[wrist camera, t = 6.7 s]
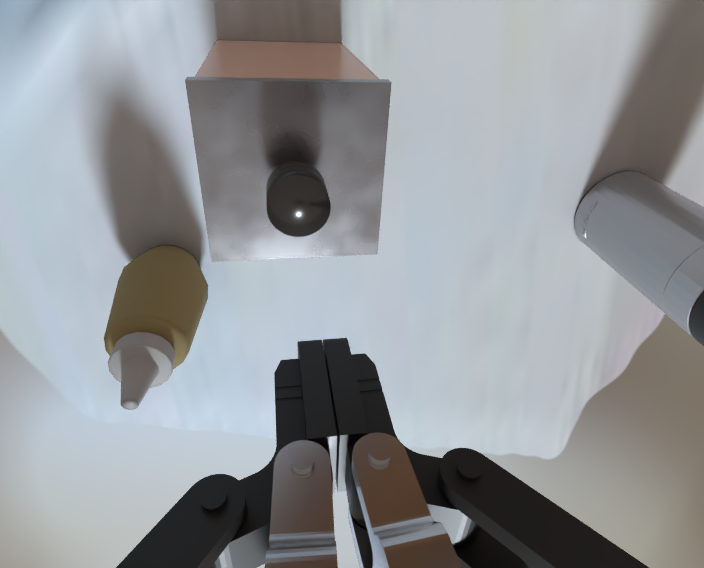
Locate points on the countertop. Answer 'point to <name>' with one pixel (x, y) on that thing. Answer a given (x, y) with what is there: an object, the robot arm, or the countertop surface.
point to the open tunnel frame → (282, 61)
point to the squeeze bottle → (153, 319)
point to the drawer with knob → (290, 164)
